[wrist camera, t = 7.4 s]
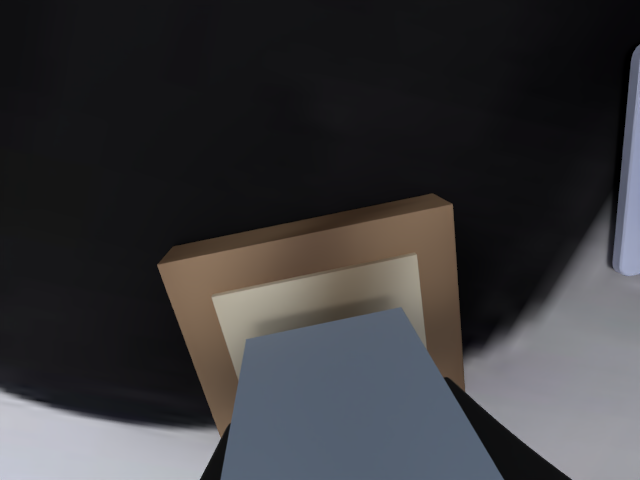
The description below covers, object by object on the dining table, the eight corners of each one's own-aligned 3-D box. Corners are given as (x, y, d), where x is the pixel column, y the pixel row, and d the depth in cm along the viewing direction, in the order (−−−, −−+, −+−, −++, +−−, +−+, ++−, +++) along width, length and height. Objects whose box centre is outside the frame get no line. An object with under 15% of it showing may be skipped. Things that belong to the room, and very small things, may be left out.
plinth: (432, 193, 12) (455, 205, 11) (449, 398, 15) (469, 433, 14) (173, 246, 12) (154, 267, 11) (241, 443, 15) (235, 484, 14)
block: (401, 307, 10) (536, 534, 5) (415, 426, 12) (532, 706, 6) (246, 339, 10) (196, 610, 5) (280, 455, 12) (274, 766, 6)
